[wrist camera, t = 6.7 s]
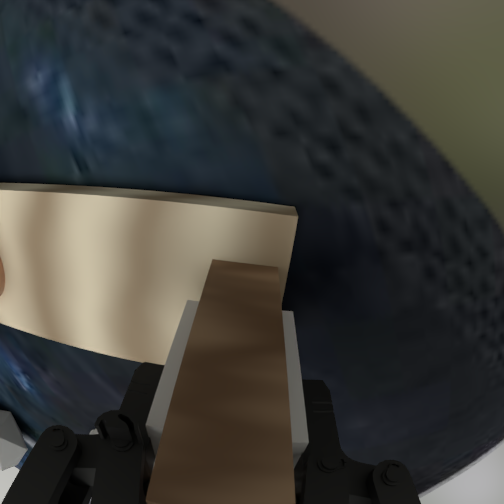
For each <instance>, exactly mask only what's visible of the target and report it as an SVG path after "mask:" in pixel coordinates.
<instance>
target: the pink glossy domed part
mask: <svg viewBox="0 0 504 504" xmlns="http://www.w3.org/2000/svg"><path fill="white" fill-rule="evenodd" d="M4 288H5V273H4V267H3V264H2V260H1V257H0V296H1V295H2V293H3V291H4Z"/></svg>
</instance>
